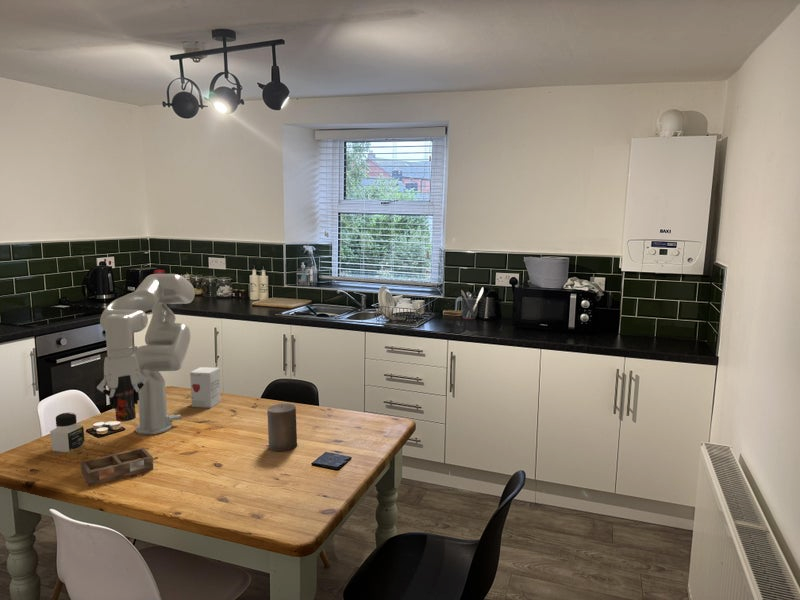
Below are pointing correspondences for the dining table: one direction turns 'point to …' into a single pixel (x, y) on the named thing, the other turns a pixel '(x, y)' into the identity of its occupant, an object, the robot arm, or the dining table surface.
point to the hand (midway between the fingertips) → (124, 404)
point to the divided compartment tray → (116, 466)
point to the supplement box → (205, 387)
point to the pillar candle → (282, 427)
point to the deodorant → (125, 400)
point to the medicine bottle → (67, 433)
